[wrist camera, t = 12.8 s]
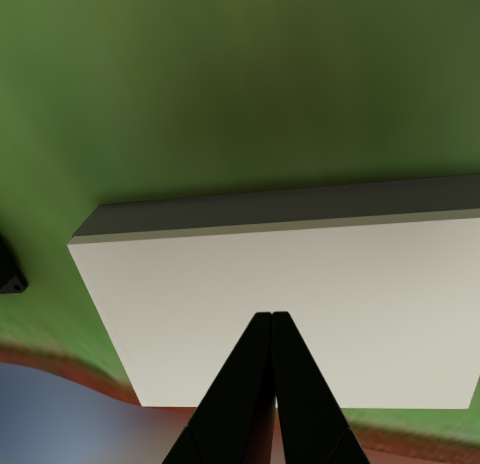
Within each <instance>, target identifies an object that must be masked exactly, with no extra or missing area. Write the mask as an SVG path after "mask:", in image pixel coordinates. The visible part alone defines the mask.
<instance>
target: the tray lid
mask: <svg viewBox="0 0 480 464" xmlns="http://www.w3.org/2000/svg"><path fill="white" fill-rule="evenodd" d="M67 247H68V249H69V251H70V253H71V255H72V257H73V259H74V262H75V264H76V266H77V268H78V270H79V272H80V274H81V277H82V279H83V281H84V283H85V285H86V287H87V289H88V292H89V294H90V296H91V298H92V300H93V302H94V304H95V307H96V309H97V311H98V313H99V315H100V317H101V319H102V321H103V324H104V326H105V328H106V330H107V332H108V334H109V336H110V339H111V341H112V343H113V345H114V347H115V349H116V351H117V354H118V356H119V358H120V360H121V362H122V364H123V366H124V368H125V371H126V373H127V375H128V377H129V379H130V381H131V383H132V386H133V388H134V390H135V392H136V394H137V396H138V398H139V401H140V403H141V405H142V406H175V407H198V405H199V404H200V402H201V400H202V399H203V397H204V395H205V394H206V392H207V390H208V389H209V387H210V386H211V384H212V382H213V381H214V379H215V377H216V376H217V374H218V373H219V371H220V369H221V368H222V366H223V364H224V363H225V361H226V360H227V358H228V356H229V355H230V353H231V351H232V350H233V348H234V347H235V345H236V343H237V342H238V340H239V338H240V337H241V335H242V333H243V332H244V330H245V329H246V327H247V325H248V324H249V322H250V320H251V319H252V317H253V316H254V314H255V313H256V312H271V313H273V312H274V311H288V312H289V313H290V315H291V317H292V319H293V321H294V322H295V324H296V326H297V328H298V330H299V332H300V334H301V335H302V337H303V339H304V341H305V343H306V345H307V347H308V349H309V350H310V352H311V354H312V356H313V358H314V360H315V362H316V363H317V365H318V367H319V369H320V371H321V373H322V375H323V376H324V378H325V380H326V382H327V384H328V386H329V388H330V389H331V391H332V393H333V395H334V397H335V399H336V401H337V403H338V404H339V406H340V408H420V409H468V407H469V404H470V402H471V399H472V396H473V393H474V390H475V387H476V384H477V381H478V378H479V375H480V208H479V209H464V210H450V211H435V212H421V213H406V214H392V215H377V216H363V217H348V218H334V219H319V220H305V221H290V222H276V223H261V224H247V225H232V226H218V227H203V228H189V229H174V230H160V231H145V232H131V233H116V234H102V235H87V236H74V237H73V238H72V239H71V241H70V242H69V243H68V244H67ZM276 407H277V399H276Z"/></svg>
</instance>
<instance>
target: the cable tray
mask: <svg viewBox="0 0 480 464" xmlns="http://www.w3.org/2000/svg"><path fill="white" fill-rule="evenodd" d="M479 208H480V174H469V175H456V176H444V177H432V178H420V179H408V180H396V181H384V182H371V183H359V184H347V185H335V186H323V187H311V188H299V189H286V190H274V191H262V192H250V193H238V194H226V195H213V196H201V197H189V198H177V199H165V200H153V201H141V202H128V203H116V204H104V205H99V206H98V207H97V208H96V209H95V210H94V212H93V213H92V214H91V215H90V216H89V217H88V218H87V219H86V220H85V222H84V223H83V224H82V225H81V226H80V227H79V228H78V229H77V230H76V231H75V233H74V234H73V235H72V237H74V236H87V235H102V234H116V233H131V232H145V231H160V230H174V229H189V228H203V227H218V226H232V225H247V224H261V223H276V222H290V221H305V220H319V219H334V218H348V217H363V216H377V215H392V214H406V213H421V212H435V211H450V210H464V209H479Z"/></svg>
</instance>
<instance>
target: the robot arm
mask: <svg viewBox="0 0 480 464" xmlns="http://www.w3.org/2000/svg"><path fill="white" fill-rule="evenodd" d="M26 288H27V283H26V282H25V280H24V278H23V276H22V275H21V273H20V271H19V270H18V268H17V266H16V264H15V263H14V261H13V259H12V258H11V256H10V254H9V252H8V251H7V249H6V247H5V246H4V244H3V242H2V241H1V239H0V294H7V293H22V292H24V291H25V289H26ZM276 399H277V407H278V414H279V421H280V428H281V435H282V442H283V449H284V456H285V463H286V464H371V462H370V461H369V459H368V457H367V455H366V454H365V452H364V450H363V448H362V447H361V445H360V443H359V441H358V439H357V437H356V436H355V434H354V432H353V430H352V429H350V425H349V423H348V421H347V419H346V417H345V416H344V414H343V412H342V410H341V408H340V406H339V404H338V403H337V401H336V399H335V397H334V395H333V393H332V391H331V389H330V388H329V386H328V384H327V382H326V380H325V378H324V376H323V375H322V373H321V371H320V369H319V367H318V365H317V363H316V362H315V360H314V358H313V356H312V354H311V352H310V350H309V349H308V347H307V345H306V343H305V341H304V339H303V337H302V335H301V334H300V332H299V330H298V328H297V326H296V324H295V322H294V321H293V319H292V317H291V315H290V313H289V312H288V311H274V312H273V313H271V312H256V313H255V314H254V316H253V317H252V319H251V320H250V322H249V324H248V325H247V327H246V329H245V330H244V332H243V333H242V335H241V337H240V338H239V340H238V342H237V343H236V345H235V347H234V348H233V350H232V351H231V353H230V355H229V356H228V358H227V360H226V361H225V363H224V364H223V366H222V368H221V369H220V371H219V373H218V374H217V376H216V377H215V379H214V381H213V382H212V384H211V386H210V387H209V389H208V390H207V392H206V394H205V395H204V397H203V399H202V400H201V402H200V404H199V405H198V407H197V408H196V410H195V412H194V413H193V415H192V417H191V418H190V420H189V422H188V426H185V428H184V429H183V431H182V433H181V434H180V436H179V438H178V439H177V441H176V442H175V444H174V445H173V447H172V449H171V450H170V452H169V453H168V455H167V456H166V458H165V459H164V461H163V462H162V464H270V461H271V450H272V440H273V430H274V420H275V409H276Z"/></svg>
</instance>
